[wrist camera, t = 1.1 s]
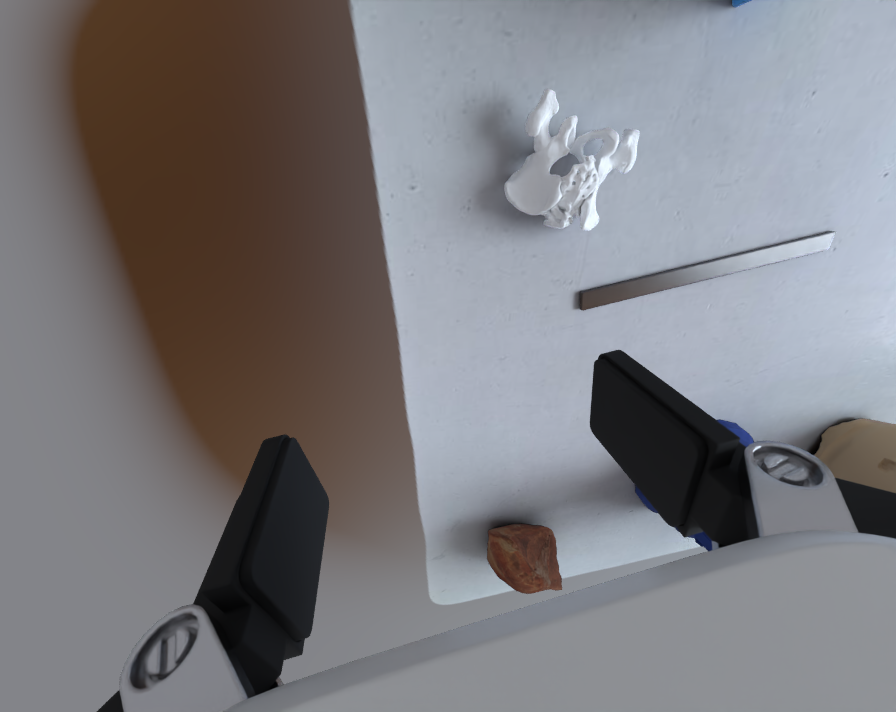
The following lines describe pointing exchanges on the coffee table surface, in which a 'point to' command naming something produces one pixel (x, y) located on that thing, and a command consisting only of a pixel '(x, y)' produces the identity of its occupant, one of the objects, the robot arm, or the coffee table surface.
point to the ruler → (704, 270)
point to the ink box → (739, 2)
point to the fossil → (524, 557)
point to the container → (861, 452)
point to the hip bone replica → (562, 196)
